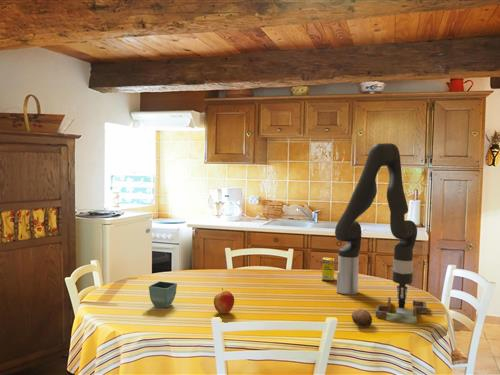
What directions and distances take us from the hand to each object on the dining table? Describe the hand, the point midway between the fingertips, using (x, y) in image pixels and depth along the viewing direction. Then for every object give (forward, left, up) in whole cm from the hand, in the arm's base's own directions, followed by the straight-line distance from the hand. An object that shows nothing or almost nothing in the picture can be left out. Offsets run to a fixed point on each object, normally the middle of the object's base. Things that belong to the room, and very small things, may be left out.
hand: (401, 312), depth 179 cm
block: (+1, -5, -1) cm, 5 cm away
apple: (-67, -24, -1) cm, 71 cm away
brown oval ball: (-14, -18, -1) cm, 23 cm away
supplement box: (-36, +41, -1) cm, 54 cm away
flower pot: (-94, -25, -1) cm, 97 cm away
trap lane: (0, +2, 0) cm, 2 cm away
